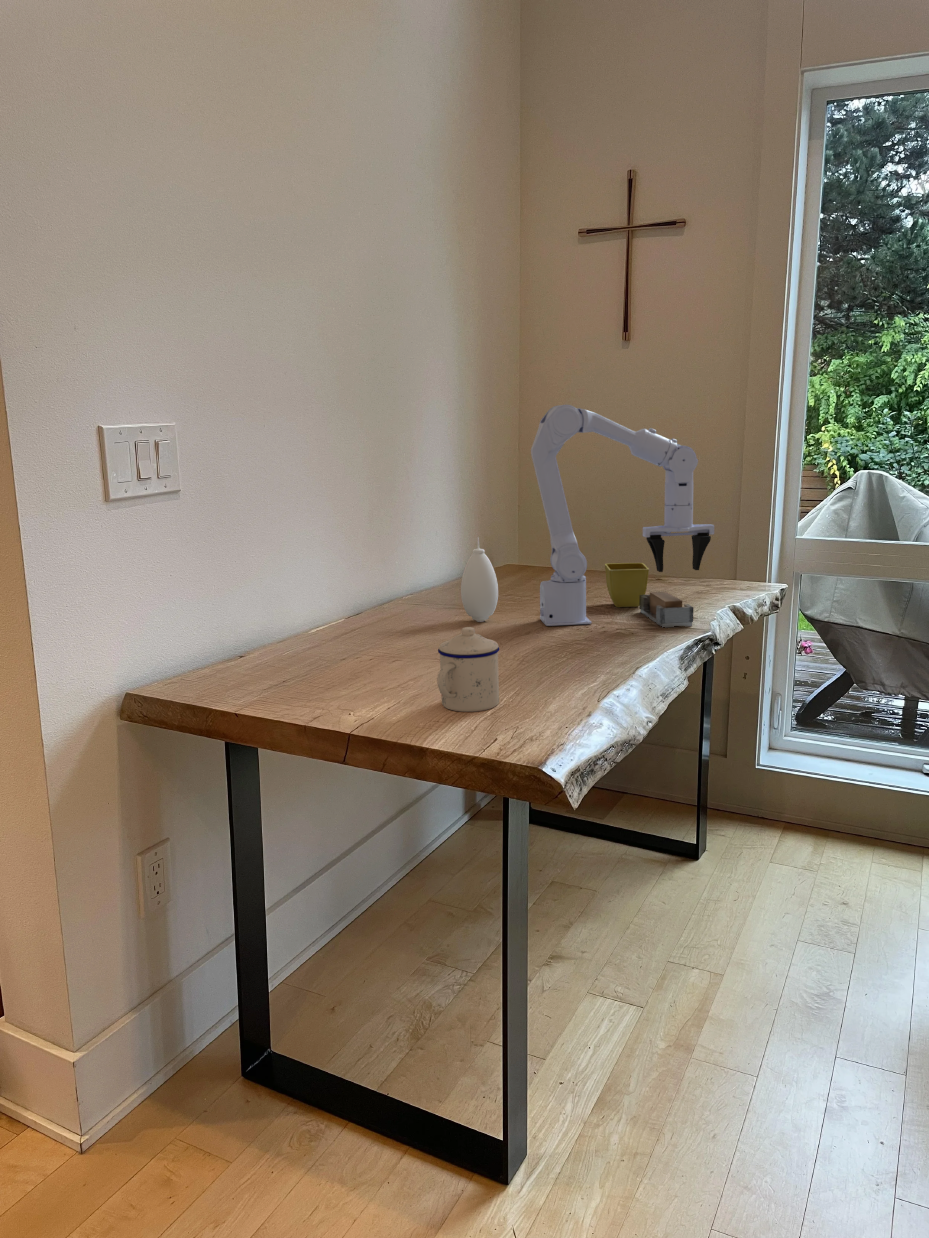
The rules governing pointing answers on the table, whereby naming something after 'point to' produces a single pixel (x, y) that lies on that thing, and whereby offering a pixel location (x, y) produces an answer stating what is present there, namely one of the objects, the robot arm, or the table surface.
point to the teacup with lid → (468, 672)
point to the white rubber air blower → (479, 586)
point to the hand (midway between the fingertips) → (677, 570)
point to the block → (663, 600)
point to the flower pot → (626, 583)
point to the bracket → (667, 613)
